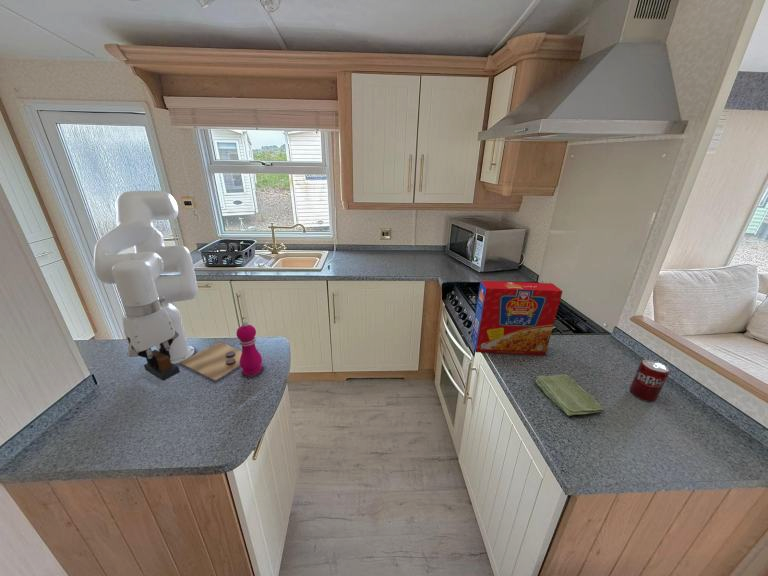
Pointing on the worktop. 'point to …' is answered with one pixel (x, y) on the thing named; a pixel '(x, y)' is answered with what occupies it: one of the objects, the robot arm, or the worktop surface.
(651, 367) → the soda can
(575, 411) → the washcloth
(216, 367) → the cutting board
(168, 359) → the eraser
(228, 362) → the crumb
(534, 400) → the worktop surface
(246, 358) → the pepper mill
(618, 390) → the worktop surface
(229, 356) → the crumb
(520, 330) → the pasta box
